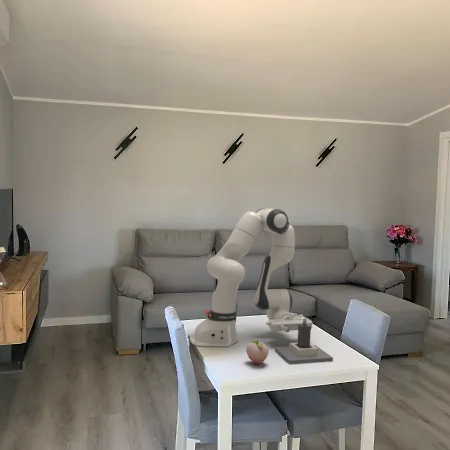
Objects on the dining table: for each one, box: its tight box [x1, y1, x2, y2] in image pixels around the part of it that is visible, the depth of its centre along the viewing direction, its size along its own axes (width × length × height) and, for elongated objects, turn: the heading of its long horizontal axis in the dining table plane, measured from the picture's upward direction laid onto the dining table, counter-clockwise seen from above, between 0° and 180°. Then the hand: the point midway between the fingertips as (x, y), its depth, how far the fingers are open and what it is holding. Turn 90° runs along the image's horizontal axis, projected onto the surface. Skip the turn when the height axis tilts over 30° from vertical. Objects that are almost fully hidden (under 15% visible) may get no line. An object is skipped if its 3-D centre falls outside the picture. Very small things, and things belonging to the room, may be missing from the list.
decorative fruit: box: [245, 339, 269, 365], centre depth 191 cm, size 9×8×10 cm
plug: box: [296, 317, 312, 349], centre depth 202 cm, size 4×4×15 cm
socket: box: [274, 342, 334, 365], centre depth 202 cm, size 20×16×4 cm
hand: (297, 330), depth 208 cm, fingers open, 8 cm apart
